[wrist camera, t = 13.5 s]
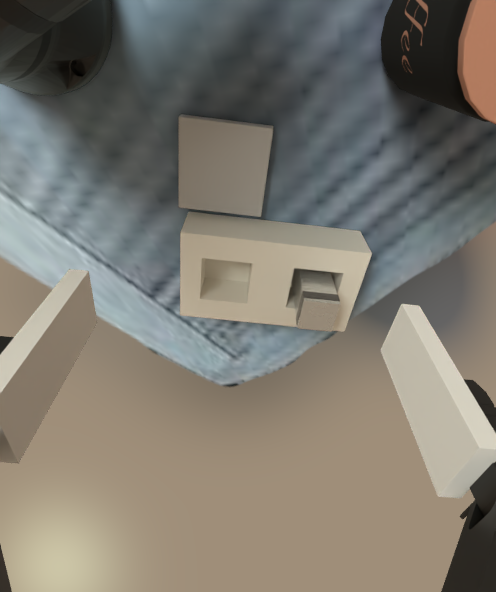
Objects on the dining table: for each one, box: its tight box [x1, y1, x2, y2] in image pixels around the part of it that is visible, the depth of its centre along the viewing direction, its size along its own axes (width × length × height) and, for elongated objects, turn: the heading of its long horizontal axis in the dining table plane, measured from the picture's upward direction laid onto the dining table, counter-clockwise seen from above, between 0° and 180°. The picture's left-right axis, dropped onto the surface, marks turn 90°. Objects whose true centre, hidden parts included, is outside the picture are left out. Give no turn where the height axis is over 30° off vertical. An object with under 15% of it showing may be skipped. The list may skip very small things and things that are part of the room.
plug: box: [291, 268, 340, 332], centre depth 45 cm, size 4×4×10 cm
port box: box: [180, 211, 372, 332], centre depth 47 cm, size 22×12×6 cm, turn 84°
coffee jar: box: [381, 0, 496, 124], centre depth 27 cm, size 11×11×18 cm
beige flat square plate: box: [179, 114, 273, 217], centre depth 42 cm, size 10×10×2 cm
